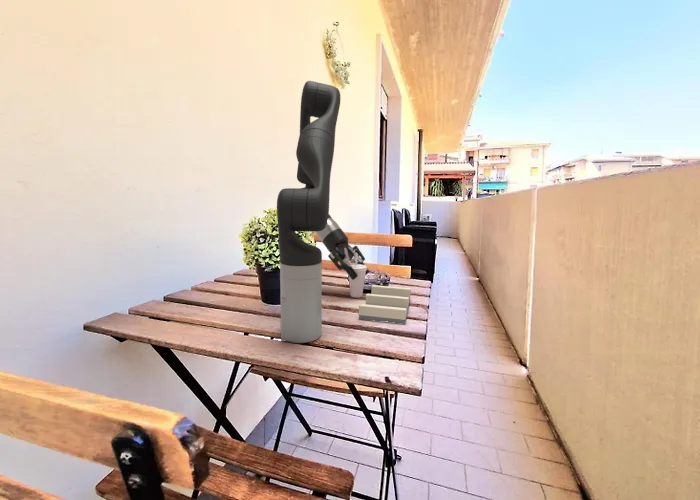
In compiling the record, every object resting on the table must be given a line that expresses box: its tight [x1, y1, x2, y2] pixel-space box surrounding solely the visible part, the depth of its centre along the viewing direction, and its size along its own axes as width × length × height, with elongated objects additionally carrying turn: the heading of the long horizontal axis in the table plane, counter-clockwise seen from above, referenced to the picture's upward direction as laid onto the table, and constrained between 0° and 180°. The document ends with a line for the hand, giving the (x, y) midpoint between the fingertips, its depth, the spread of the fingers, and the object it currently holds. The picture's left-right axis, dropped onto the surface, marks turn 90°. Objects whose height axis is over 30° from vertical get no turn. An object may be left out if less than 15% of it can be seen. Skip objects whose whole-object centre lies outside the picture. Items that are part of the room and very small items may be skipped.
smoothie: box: [347, 253, 368, 298], centre depth 106 cm, size 6×6×14 cm
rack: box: [358, 284, 412, 324], centre depth 96 cm, size 20×12×4 cm, turn 166°
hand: (361, 275), depth 105 cm, fingers closed on smoothie, 6 cm apart
